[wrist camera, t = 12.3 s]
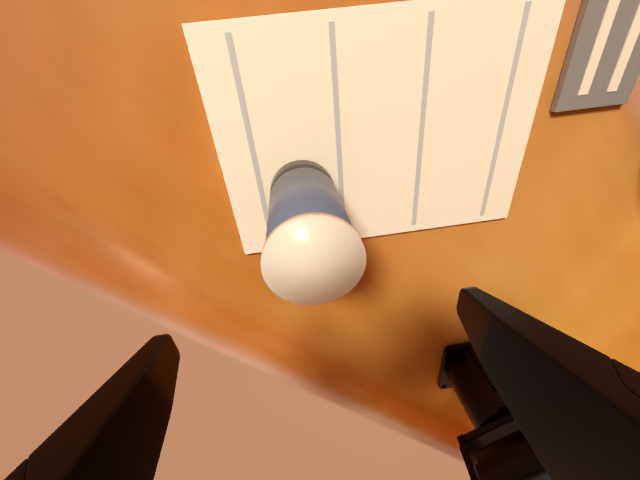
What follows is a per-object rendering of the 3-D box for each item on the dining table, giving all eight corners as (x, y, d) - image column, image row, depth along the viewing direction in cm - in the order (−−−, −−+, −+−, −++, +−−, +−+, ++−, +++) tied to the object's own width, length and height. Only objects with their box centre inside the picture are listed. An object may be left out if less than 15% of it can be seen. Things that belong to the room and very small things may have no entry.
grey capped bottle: (337, 216, 20) (367, 297, 13) (275, 225, 19) (271, 311, 13) (333, 154, 17) (365, 211, 11) (262, 162, 17) (250, 227, 10)
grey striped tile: (620, 102, 18) (627, 103, 18) (549, 111, 18) (555, 112, 17) (672, -26, 15) (682, -28, 15) (587, -17, 15) (596, -19, 14)
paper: (504, 215, 21) (507, 217, 21) (245, 252, 21) (245, 254, 20) (565, -15, 15) (570, -17, 14) (183, 24, 14) (181, 23, 13)
